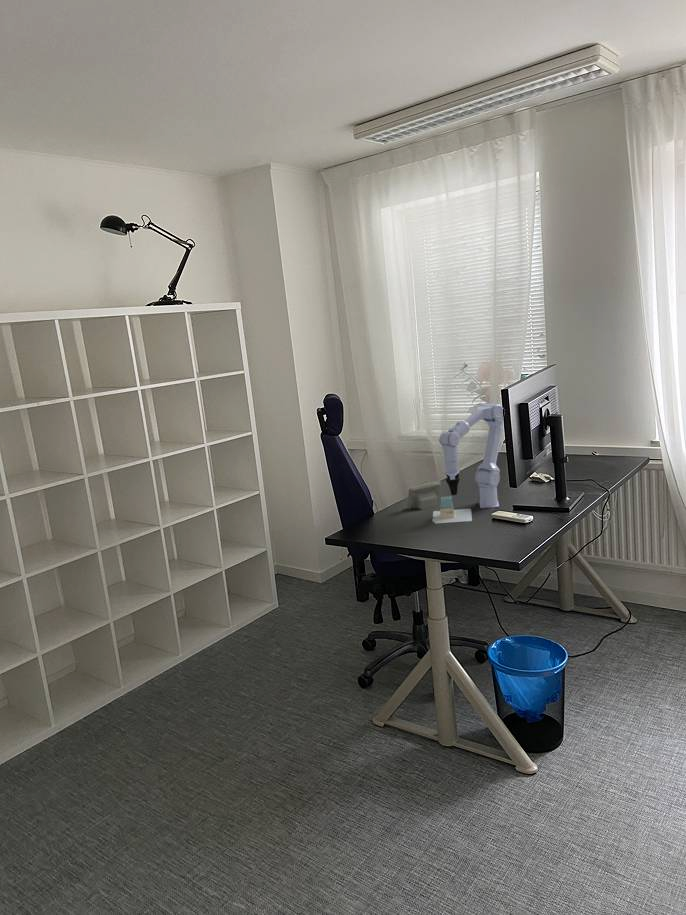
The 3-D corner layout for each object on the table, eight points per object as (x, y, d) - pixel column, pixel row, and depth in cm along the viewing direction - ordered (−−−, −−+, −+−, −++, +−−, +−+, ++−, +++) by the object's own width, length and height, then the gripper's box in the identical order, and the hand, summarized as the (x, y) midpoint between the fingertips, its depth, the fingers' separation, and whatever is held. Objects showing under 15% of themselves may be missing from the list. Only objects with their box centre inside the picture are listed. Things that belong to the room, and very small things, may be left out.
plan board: (433, 512, 307) (433, 511, 307) (470, 509, 304) (470, 508, 304) (432, 524, 289) (432, 523, 289) (472, 521, 287) (472, 520, 286)
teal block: (441, 505, 299) (440, 496, 298) (452, 505, 298) (451, 495, 297) (441, 508, 294) (440, 499, 294) (452, 508, 294) (451, 498, 293)
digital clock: (439, 502, 322) (437, 479, 320) (446, 506, 313) (443, 483, 311) (405, 507, 319) (402, 485, 317) (411, 512, 310) (408, 489, 308)
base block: (440, 514, 300) (439, 505, 299) (453, 513, 299) (453, 504, 298) (440, 518, 295) (439, 509, 294) (453, 517, 294) (453, 508, 293)
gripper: (441, 457, 300) (444, 488, 303) (441, 465, 286) (444, 497, 289) (458, 456, 299) (461, 487, 301) (458, 463, 285) (461, 496, 287)
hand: (454, 492), depth 295 cm, fingers open, 7 cm apart
